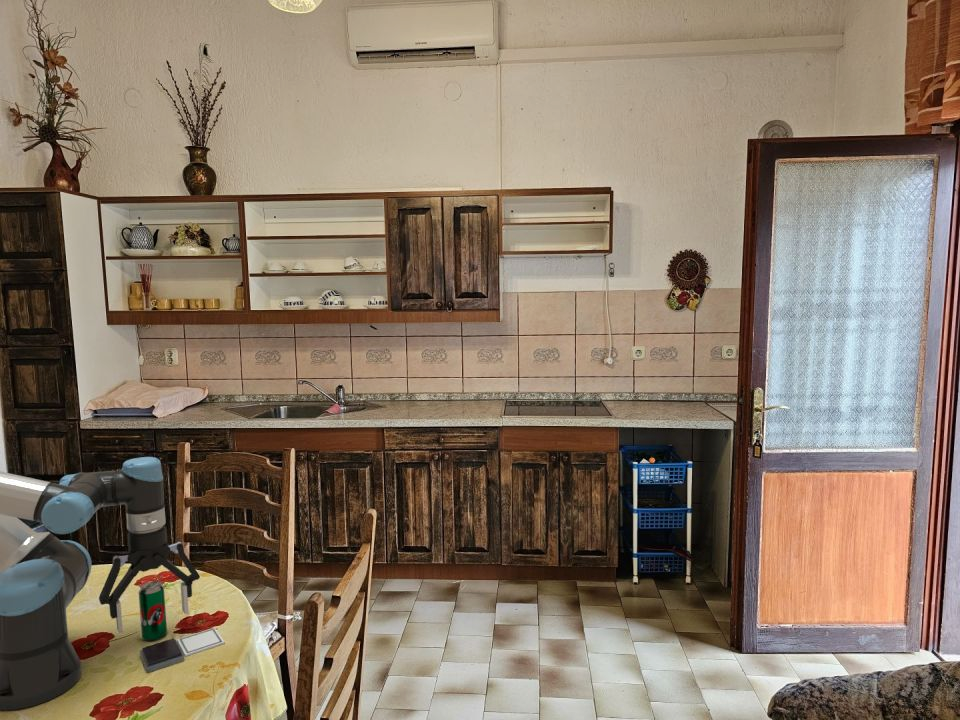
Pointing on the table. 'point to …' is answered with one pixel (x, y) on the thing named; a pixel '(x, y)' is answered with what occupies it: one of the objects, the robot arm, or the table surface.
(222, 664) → the table surface
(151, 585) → the soda can
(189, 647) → the print card
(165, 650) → the ink pad
